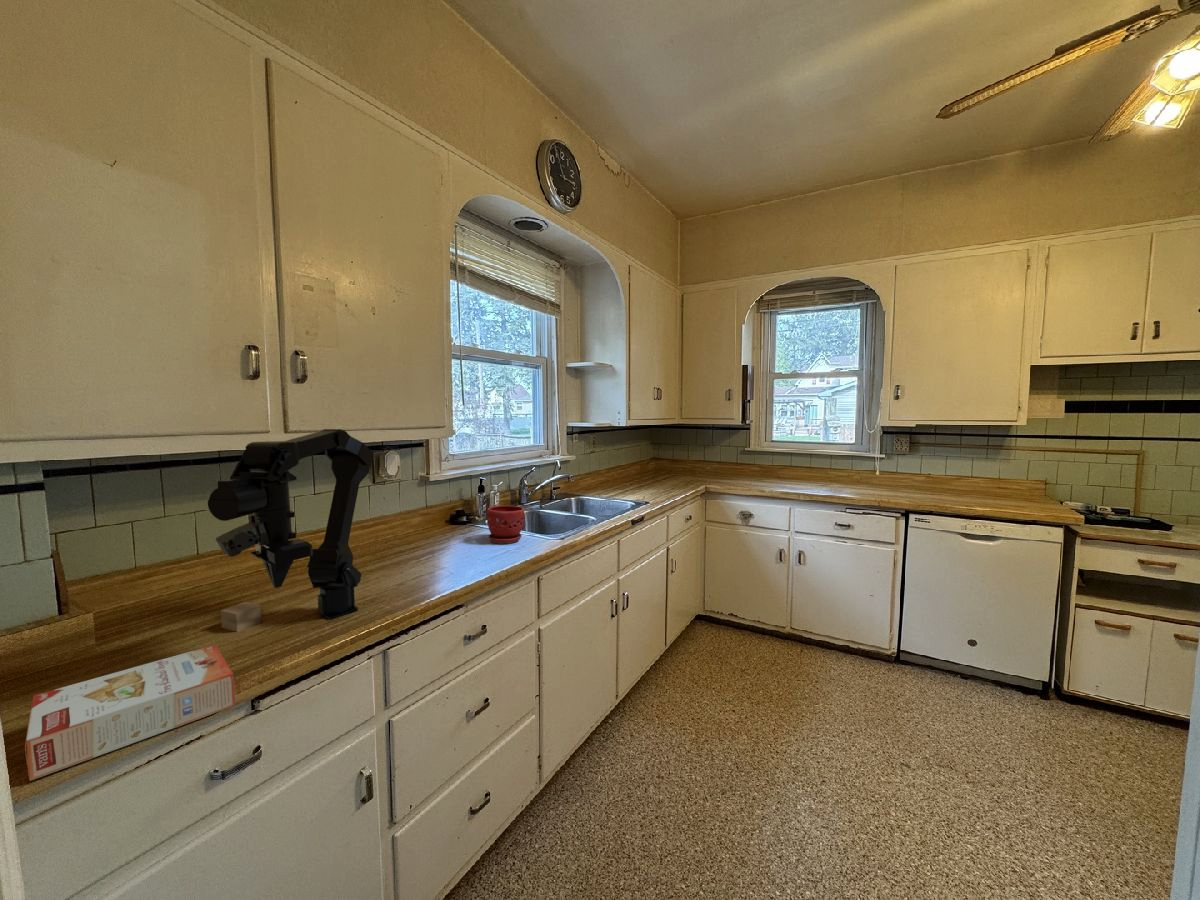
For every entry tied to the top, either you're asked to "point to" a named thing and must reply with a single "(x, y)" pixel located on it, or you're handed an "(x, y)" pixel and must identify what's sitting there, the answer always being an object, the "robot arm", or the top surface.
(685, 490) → the top surface
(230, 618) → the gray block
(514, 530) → the plant pot
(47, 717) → the cracker box
